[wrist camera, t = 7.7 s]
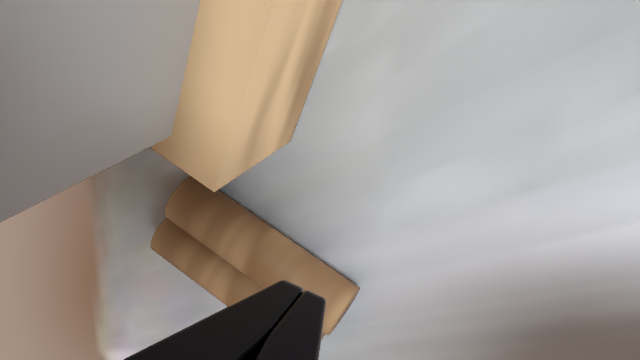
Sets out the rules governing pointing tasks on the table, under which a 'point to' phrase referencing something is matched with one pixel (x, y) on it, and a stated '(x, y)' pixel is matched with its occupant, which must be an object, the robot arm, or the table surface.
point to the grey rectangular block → (84, 88)
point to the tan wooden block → (245, 83)
